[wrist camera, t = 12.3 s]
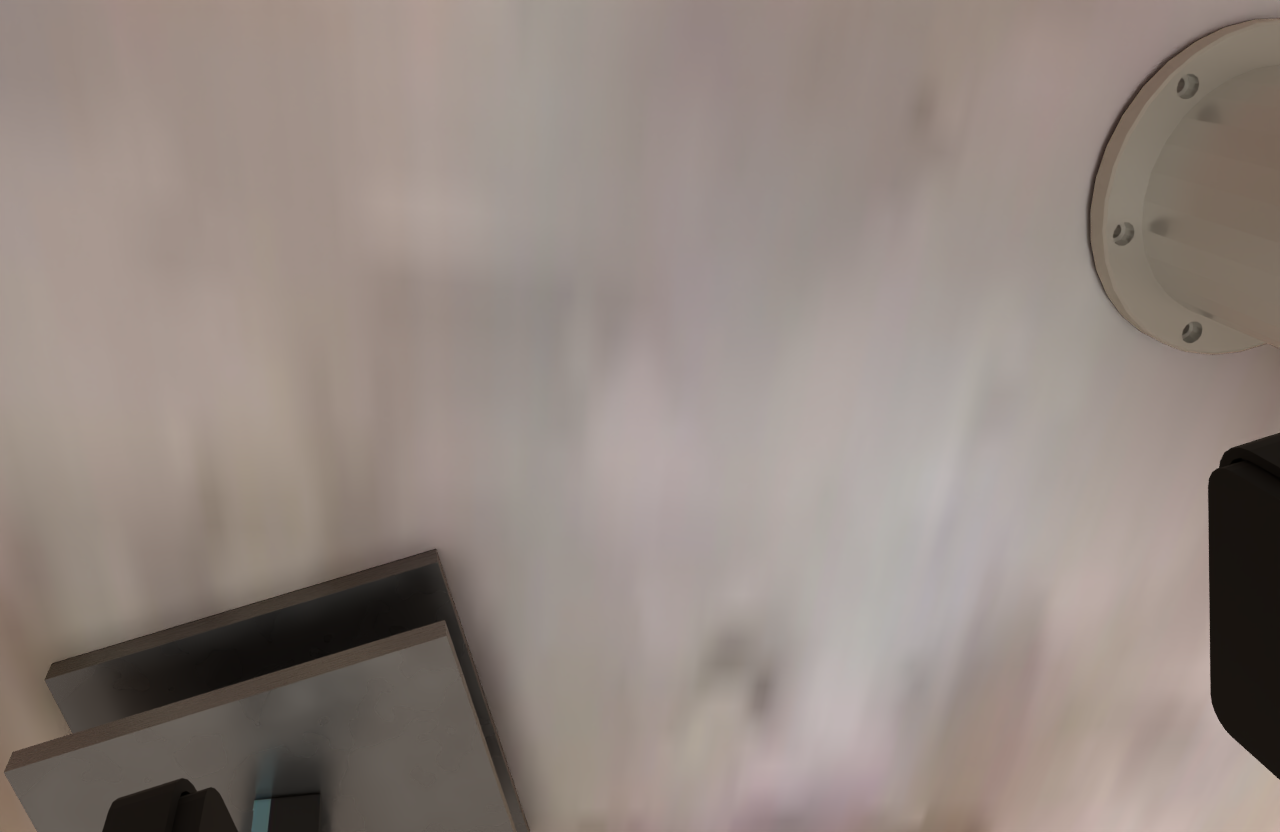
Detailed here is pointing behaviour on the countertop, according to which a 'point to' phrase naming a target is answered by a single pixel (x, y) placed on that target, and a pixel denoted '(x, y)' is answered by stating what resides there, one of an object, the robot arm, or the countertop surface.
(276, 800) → the push button
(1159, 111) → the robot arm
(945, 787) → the countertop surface
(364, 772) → the stand
